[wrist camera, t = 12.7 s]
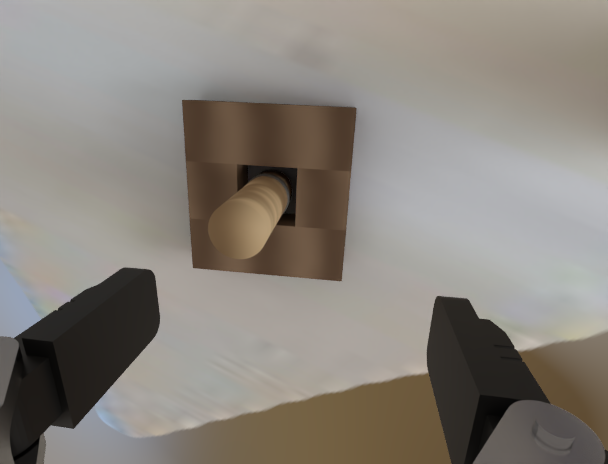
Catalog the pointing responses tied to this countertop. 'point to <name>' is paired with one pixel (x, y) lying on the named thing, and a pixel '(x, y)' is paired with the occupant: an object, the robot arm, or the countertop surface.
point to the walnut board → (277, 153)
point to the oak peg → (250, 215)
